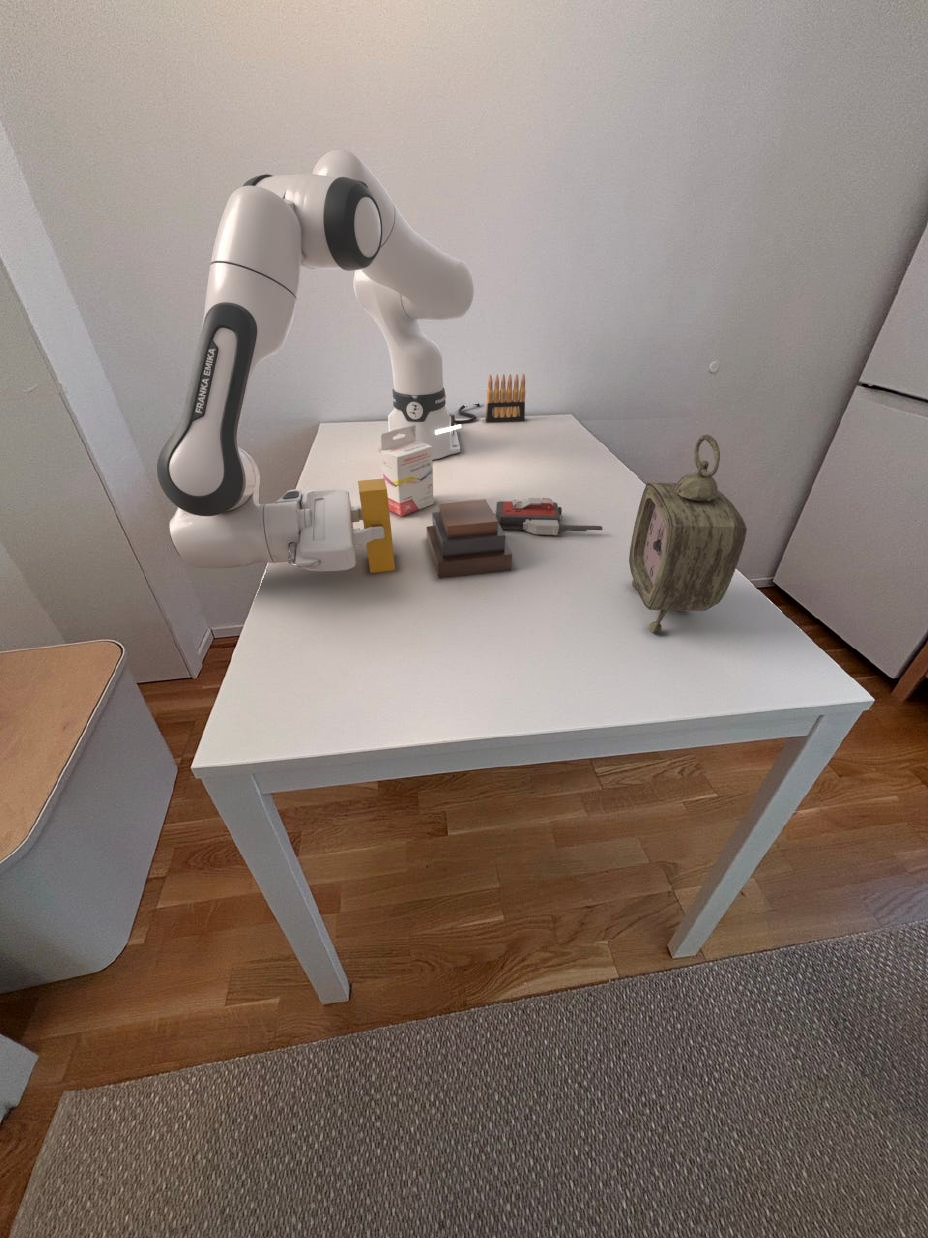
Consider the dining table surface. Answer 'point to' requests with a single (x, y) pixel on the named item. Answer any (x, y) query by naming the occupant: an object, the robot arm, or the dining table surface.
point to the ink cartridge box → (407, 471)
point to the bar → (377, 513)
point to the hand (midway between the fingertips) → (382, 522)
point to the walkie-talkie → (535, 517)
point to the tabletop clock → (685, 542)
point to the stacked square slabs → (467, 540)
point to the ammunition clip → (505, 400)
